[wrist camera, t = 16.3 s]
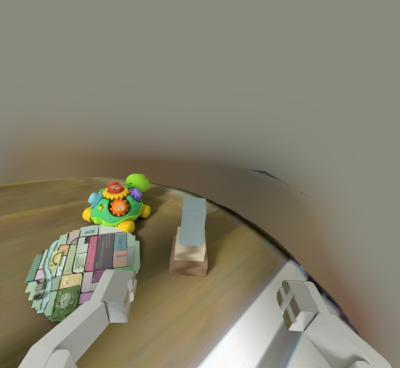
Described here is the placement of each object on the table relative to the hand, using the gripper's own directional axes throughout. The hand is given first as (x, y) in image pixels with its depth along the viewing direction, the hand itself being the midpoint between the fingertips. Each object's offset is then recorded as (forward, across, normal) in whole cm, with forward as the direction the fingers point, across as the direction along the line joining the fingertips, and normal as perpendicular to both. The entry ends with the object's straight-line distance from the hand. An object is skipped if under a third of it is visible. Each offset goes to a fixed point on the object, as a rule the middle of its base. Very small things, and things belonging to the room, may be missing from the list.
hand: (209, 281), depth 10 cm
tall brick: (+27, 0, +24) cm, 36 cm away
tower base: (+27, 0, +32) cm, 42 cm away
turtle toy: (+44, +22, +32) cm, 59 cm away
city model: (+23, +23, +33) cm, 46 cm away
